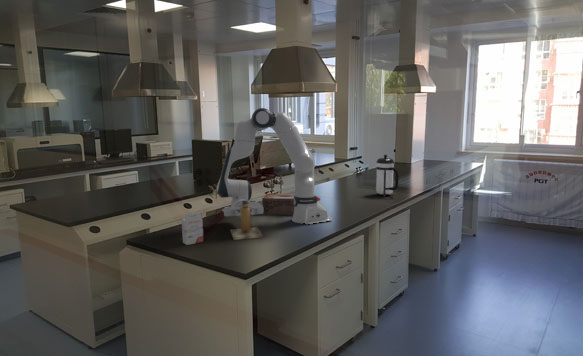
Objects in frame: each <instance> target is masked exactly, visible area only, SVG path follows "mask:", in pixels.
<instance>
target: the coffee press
mask: <svg viewBox="0 0 583 356" xmlns="http://www.w3.org/2000/svg"><path fill="white" fill-rule="evenodd" d="M394 165H395V161H394V159H392V158H391V157H388V155H387V154H384V155H383V157H379V158H378V159H377V160H376V175H375V177H376V178H375V192H374V193H377V194H379V195H382V196H383V195H385V196H386V195H392V194H395V192H394V191H396V190H397V189H398V187H399V171H398V169H397V168H396V167H395V166H394ZM394 175H395V176H394ZM394 178H395V179H394ZM394 180H395V184H394Z"/></svg>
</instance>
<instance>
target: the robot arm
mask: <svg viewBox="0 0 583 356" xmlns="http://www.w3.org/2000/svg"><path fill="white" fill-rule="evenodd" d="M268 128H271V129H272V130H273V131H274V132H275V134H276V136H277V138H278V139H279V141H280V143H281V145H282V146H283V147H284V149H285V151H286V152H287V155H288V157H289V158H290V160H291V163H292V164H293V166H294V194H295V196H294V213H293V215H292V217H291V218H292V219H291V221H292V222H294V223H295V224H303V223H305V225H308V224H310V225H314V224H313V223H317V224H320V223H319V222H324V223H327V222H326V221H331V220H332V221H333V219H332V216H330V215H329V213H328V210H327V209H326V207H325V206H323V204H321V203H320V201H321V197H320V196H316V195H315V165H316V163H315V157H314V155H313V153H311V151H310V150H309V147H308V146H307V144H306V143H305V141H304V139H303V137H302V135H301V134H300V131H299V130H298V128H297V127H296V125H295V124H294V122H293V120H291V118H290V117H289V116H288V114H287V113H285V112H284V111H279V112H276V113H274V112H273V111H270V110H269V109H267V108H264V107H259V108H258V109H255V110H254V111H253V113H252V115H251V117H250V119H249V120H246V119H245V120H243V119H242V120H241V121H239V122H238V123H237V126H236V129H235V133H234V141H233V145H232V147H231V148H230V149H227V151H226V154H225V157H224V159H223V160H224V161H223V164H222V169H221V171H220V176H219V179H218V182H217V185H216V193H217V195H218V196H219V197H221V198H222V199H223V198H227V199H228V198H231V200H230V206H225V207H224V208H222V209H221V211H222V212H223V217H240V218H241V207H243V204H242V201H243V200H248V207H250V216H254V215H264V214H263V213H264V209H263V206H262V204H261V203H259V202H258V201H257V200H251V198H252V195H253V188H252V185H251V183H250V182H249V181H248V180H243V179H230V178H229V175H230V171H231V167H232V165H233V163H234V162H236V161H238V160H241V159H245V158H248V157H249V156H251V155H252V154H253V153H254V150H255V145H256V135H257V132H259V131H264V130H267V129H268ZM332 221H331V222H332Z"/></svg>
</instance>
